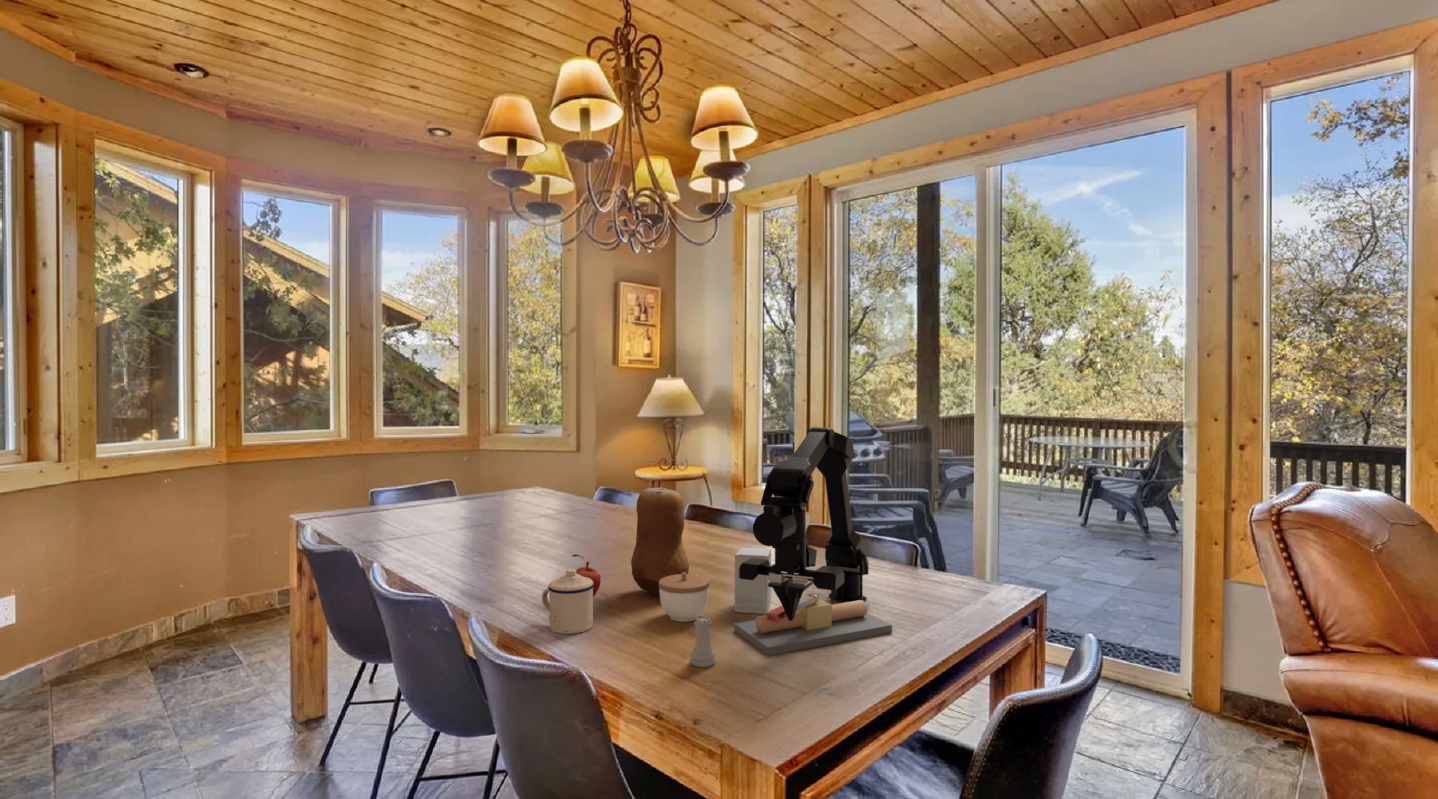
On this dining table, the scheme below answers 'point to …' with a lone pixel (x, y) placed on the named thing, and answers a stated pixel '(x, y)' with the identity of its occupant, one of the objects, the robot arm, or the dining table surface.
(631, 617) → the dining table surface
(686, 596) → the lidded jar
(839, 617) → the valve body
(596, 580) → the apple
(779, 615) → the valve lever
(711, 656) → the rook chess piece
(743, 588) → the supplement box
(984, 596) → the dining table surface
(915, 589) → the dining table surface
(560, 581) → the teacup with lid
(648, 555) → the butternut squash
